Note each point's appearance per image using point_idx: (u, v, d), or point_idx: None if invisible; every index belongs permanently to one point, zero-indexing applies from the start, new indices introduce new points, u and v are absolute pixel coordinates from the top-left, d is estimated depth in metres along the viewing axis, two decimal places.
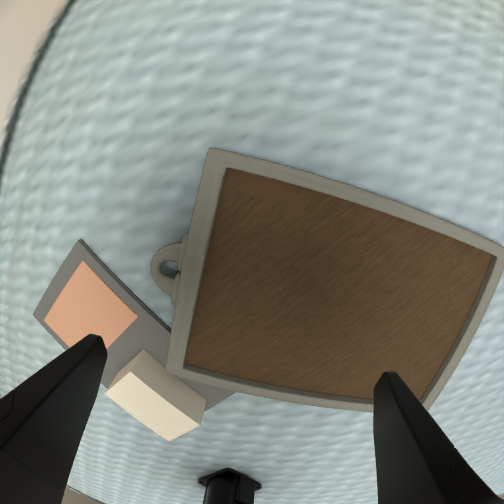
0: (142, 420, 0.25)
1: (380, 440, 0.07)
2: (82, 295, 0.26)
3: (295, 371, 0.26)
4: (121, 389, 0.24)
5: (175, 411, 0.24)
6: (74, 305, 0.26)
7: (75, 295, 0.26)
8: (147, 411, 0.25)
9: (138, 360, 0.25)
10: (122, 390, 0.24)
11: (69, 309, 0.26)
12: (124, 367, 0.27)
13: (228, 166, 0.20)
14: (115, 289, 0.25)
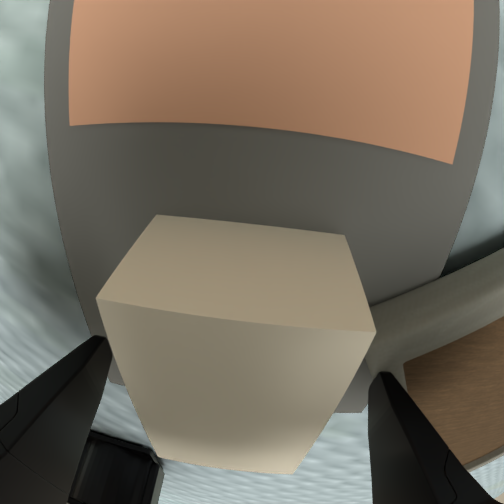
0: (150, 419, 0.07)
1: (374, 440, 0.07)
2: None
3: (445, 424, 0.13)
4: (220, 346, 0.05)
5: (294, 450, 0.08)
6: None
7: None
8: (209, 421, 0.07)
9: None
10: (213, 352, 0.06)
11: None
12: (211, 226, 0.08)
13: None
14: (478, 59, 0.05)
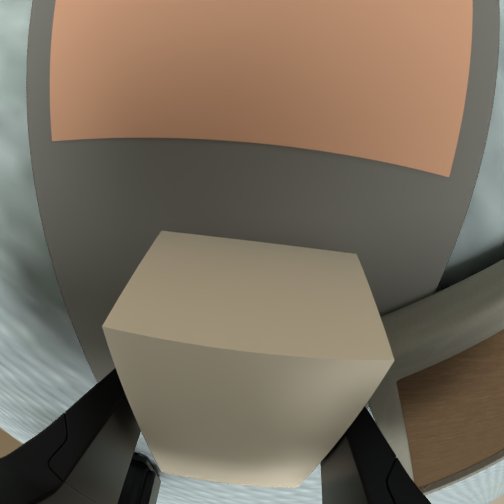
0: (156, 439, 0.07)
1: None
2: None
3: (441, 435, 0.12)
4: (235, 377, 0.05)
5: (301, 467, 0.07)
6: None
7: None
8: (218, 443, 0.07)
9: None
10: (227, 381, 0.05)
11: None
12: (219, 244, 0.07)
13: None
14: (477, 65, 0.05)
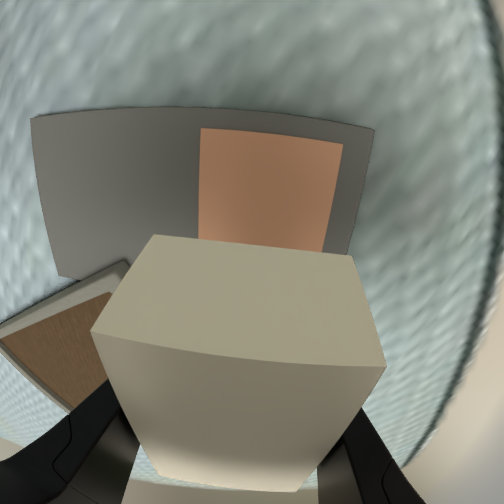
0: (150, 442, 0.07)
1: None
2: None
3: (62, 329, 0.23)
4: (222, 382, 0.05)
5: (297, 471, 0.07)
6: (292, 231, 0.17)
7: (298, 249, 0.18)
8: (211, 447, 0.07)
9: None
10: (215, 386, 0.05)
11: (297, 217, 0.17)
12: (211, 247, 0.07)
13: None
14: None
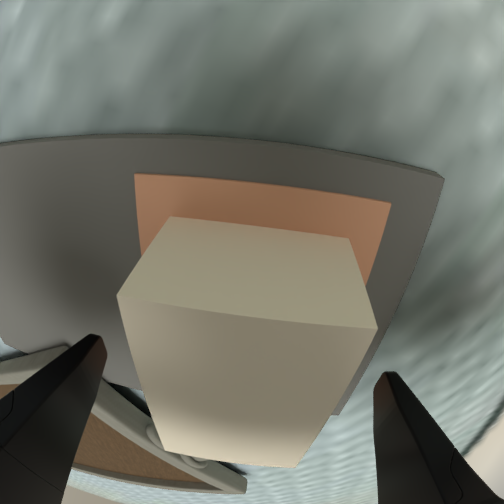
0: (161, 412, 0.08)
1: (380, 440, 0.07)
2: None
3: None
4: (233, 341, 0.06)
5: (298, 443, 0.08)
6: None
7: None
8: (219, 414, 0.08)
9: None
10: (227, 346, 0.06)
11: None
12: (223, 228, 0.08)
13: (223, 491, 0.20)
14: None
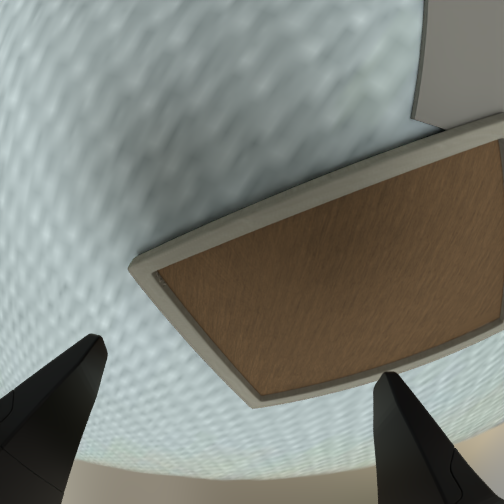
0: None
1: (380, 440, 0.07)
2: None
3: (376, 210, 0.17)
4: None
5: None
6: None
7: None
8: None
9: None
10: None
11: None
12: None
13: (501, 324, 0.20)
14: None
